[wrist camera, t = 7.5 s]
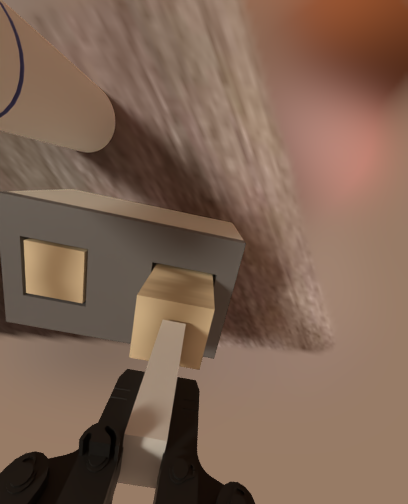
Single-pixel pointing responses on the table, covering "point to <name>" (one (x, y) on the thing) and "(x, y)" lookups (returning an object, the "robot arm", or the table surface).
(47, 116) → the cylindrical container
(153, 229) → the plinth
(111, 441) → the robot arm
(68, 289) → the peg
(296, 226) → the table surface
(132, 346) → the peg
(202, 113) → the table surface
